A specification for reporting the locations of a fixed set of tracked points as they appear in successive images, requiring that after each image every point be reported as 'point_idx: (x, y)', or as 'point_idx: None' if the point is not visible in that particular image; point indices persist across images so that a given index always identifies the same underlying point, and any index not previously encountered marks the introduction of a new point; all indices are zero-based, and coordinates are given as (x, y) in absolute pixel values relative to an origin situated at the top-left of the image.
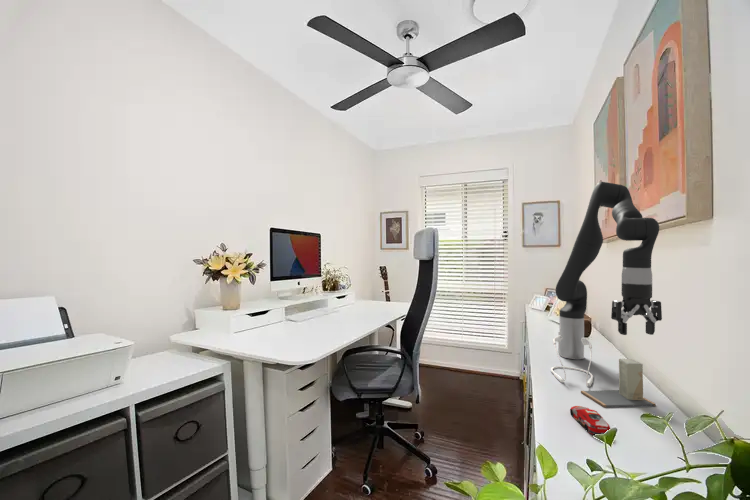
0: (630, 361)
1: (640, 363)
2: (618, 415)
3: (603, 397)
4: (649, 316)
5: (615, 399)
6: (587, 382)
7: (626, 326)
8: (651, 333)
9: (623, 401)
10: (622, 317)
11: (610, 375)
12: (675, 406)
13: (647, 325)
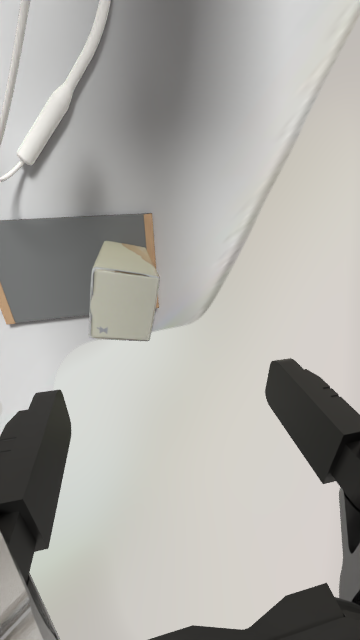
0: (118, 315)
1: (144, 336)
2: (28, 356)
3: (31, 273)
4: (343, 592)
5: (63, 286)
6: (21, 150)
7: (52, 506)
8: (269, 405)
9: (80, 297)
10: (4, 597)
11: (203, 14)
12: (204, 303)
13: (311, 420)
